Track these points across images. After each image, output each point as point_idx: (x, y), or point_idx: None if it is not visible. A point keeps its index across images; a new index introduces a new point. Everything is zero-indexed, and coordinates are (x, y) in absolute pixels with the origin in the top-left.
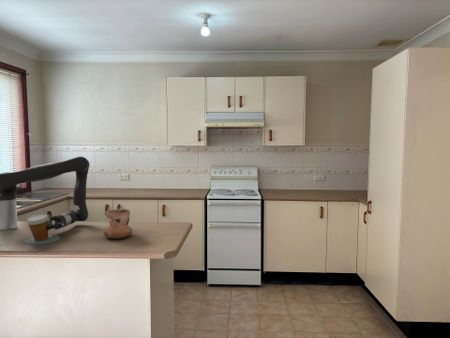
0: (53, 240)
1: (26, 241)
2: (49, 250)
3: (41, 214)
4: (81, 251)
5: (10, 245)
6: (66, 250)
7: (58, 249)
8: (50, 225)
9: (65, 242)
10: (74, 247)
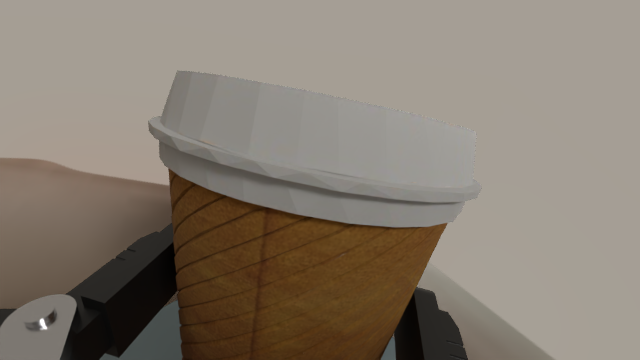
0: (125, 353)
1: (391, 353)
2: (165, 194)
3: (330, 109)
4: (7, 162)
5: (434, 290)
6: (77, 181)
7: (116, 195)
8: (126, 263)
9: (13, 297)
10: (8, 201)
